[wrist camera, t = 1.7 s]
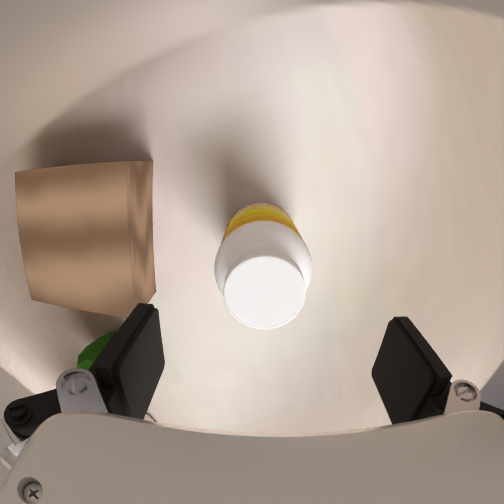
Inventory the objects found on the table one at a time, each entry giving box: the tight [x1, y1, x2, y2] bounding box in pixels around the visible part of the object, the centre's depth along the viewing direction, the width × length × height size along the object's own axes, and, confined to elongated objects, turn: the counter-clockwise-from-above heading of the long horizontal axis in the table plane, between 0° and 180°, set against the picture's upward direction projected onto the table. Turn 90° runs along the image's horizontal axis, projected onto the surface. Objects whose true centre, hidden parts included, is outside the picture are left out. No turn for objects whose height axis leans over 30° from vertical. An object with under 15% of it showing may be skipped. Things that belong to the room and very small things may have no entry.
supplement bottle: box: [215, 203, 312, 329], centre depth 22 cm, size 7×7×13 cm
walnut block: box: [15, 160, 156, 318], centre depth 25 cm, size 14×14×6 cm
